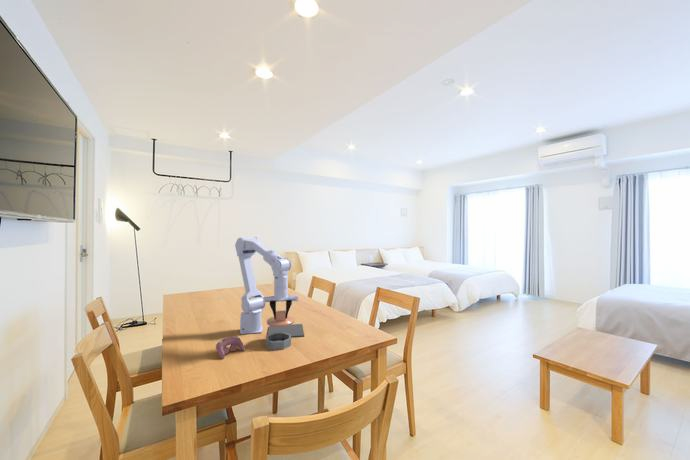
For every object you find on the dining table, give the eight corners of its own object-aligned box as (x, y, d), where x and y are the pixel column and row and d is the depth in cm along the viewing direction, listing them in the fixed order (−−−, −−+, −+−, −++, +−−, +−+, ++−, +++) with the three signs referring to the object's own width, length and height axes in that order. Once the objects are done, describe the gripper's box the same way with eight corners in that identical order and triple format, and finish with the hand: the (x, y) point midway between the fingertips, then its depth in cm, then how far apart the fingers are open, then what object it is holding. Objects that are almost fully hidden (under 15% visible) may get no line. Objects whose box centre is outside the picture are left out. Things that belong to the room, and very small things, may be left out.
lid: (265, 327, 116) (265, 316, 116) (267, 318, 128) (267, 308, 128) (294, 325, 119) (294, 315, 118) (294, 316, 130) (294, 307, 130)
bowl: (265, 350, 114) (265, 343, 114) (267, 340, 124) (267, 333, 123) (291, 348, 116) (291, 341, 116) (290, 338, 126) (290, 332, 126)
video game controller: (240, 352, 116) (236, 334, 118) (246, 349, 113) (242, 332, 115) (216, 360, 108) (212, 342, 110) (222, 358, 105) (218, 339, 107)
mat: (267, 339, 125) (267, 337, 125) (269, 326, 140) (269, 325, 140) (304, 336, 128) (304, 335, 128) (302, 325, 143) (302, 323, 143)
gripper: (262, 289, 118) (262, 322, 118) (298, 288, 120) (298, 320, 121) (264, 285, 125) (263, 316, 125) (297, 284, 127) (297, 315, 128)
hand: (280, 318), depth 123 cm, fingers closed on lid, 4 cm apart
